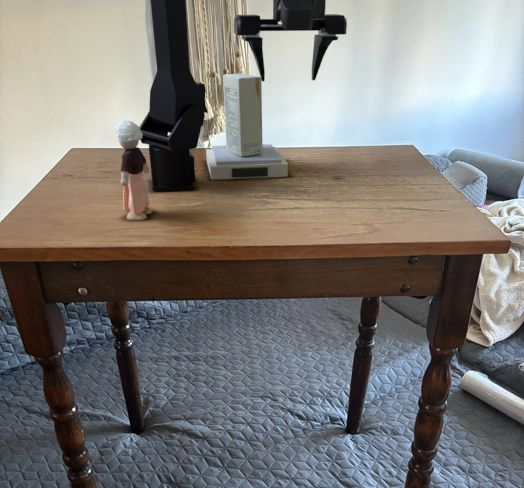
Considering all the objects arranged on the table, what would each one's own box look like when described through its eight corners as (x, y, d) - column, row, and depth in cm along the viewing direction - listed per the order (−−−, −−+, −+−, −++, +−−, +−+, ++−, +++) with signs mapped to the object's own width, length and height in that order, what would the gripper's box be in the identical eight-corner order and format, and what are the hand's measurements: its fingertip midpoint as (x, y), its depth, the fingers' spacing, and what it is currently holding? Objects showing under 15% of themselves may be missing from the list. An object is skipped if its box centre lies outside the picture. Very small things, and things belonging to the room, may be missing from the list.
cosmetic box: (263, 154, 96) (263, 76, 90) (241, 158, 95) (239, 78, 88) (246, 146, 101) (245, 72, 94) (224, 149, 99) (222, 73, 93)
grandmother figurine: (130, 206, 82) (119, 114, 75) (156, 207, 82) (147, 115, 75) (118, 225, 76) (103, 127, 69) (146, 226, 76) (134, 127, 69)
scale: (211, 180, 93) (210, 163, 92) (206, 161, 104) (205, 145, 102) (288, 177, 95) (288, 160, 93) (275, 158, 105) (276, 143, 104)
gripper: (240, -26, 84) (241, 88, 92) (360, -25, 86) (351, 86, 95) (232, -25, 93) (234, 79, 101) (341, -24, 95) (334, 77, 104)
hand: (288, 80), depth 100 cm, fingers open, 9 cm apart
